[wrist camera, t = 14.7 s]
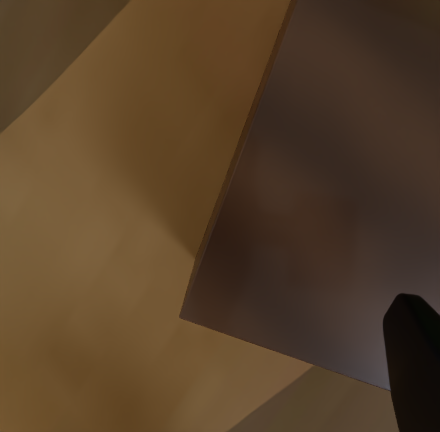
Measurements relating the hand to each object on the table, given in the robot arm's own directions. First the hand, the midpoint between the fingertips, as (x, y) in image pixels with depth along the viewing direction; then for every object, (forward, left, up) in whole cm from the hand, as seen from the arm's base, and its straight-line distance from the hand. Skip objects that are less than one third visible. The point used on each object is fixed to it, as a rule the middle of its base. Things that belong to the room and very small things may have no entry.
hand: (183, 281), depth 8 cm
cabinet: (-1, -7, -12) cm, 14 cm away
